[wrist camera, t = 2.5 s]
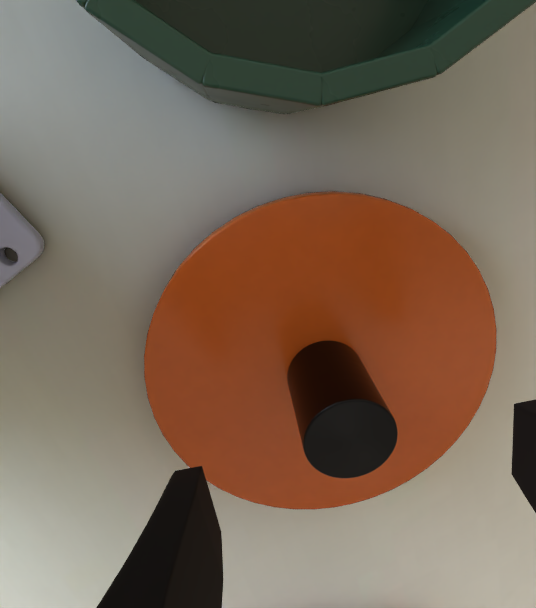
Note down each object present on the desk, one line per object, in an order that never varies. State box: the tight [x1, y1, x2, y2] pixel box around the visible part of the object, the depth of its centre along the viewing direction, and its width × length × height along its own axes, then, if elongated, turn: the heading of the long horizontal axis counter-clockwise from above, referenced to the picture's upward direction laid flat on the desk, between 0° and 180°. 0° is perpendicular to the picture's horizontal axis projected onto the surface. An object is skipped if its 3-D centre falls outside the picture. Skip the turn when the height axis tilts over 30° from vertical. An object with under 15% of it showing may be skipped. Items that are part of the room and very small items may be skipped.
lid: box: [144, 191, 496, 509], centre depth 13 cm, size 11×11×4 cm
